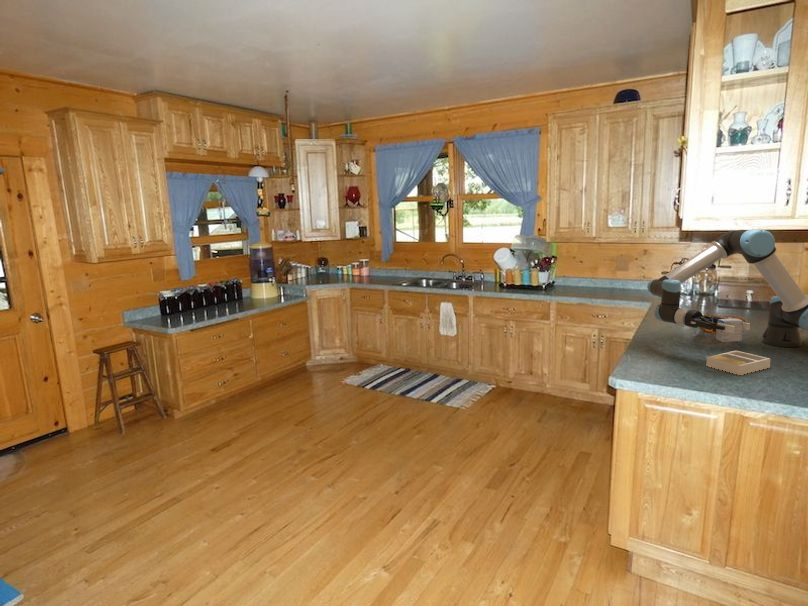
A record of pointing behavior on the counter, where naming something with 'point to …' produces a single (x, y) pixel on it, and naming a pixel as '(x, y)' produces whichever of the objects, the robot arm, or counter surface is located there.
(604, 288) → the counter surface
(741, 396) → the counter surface
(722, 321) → the medicine box
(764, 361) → the board
